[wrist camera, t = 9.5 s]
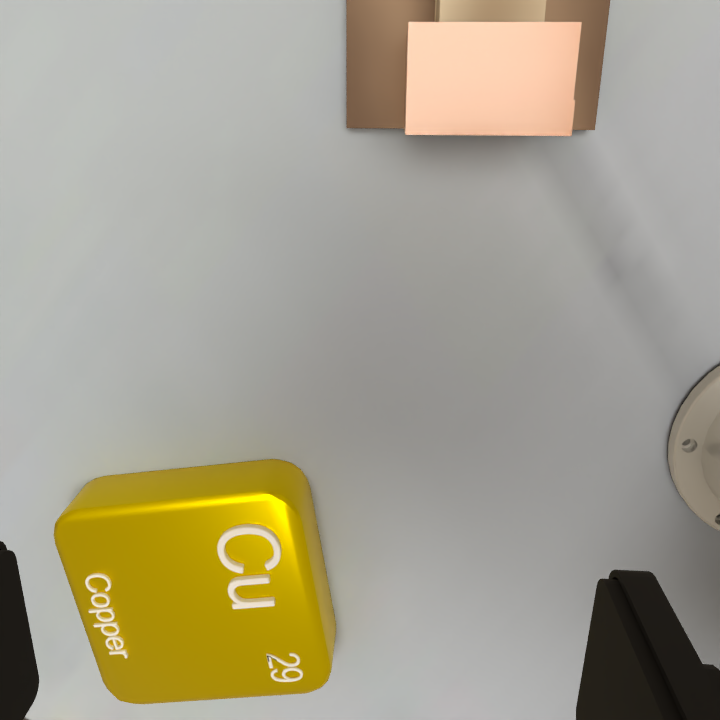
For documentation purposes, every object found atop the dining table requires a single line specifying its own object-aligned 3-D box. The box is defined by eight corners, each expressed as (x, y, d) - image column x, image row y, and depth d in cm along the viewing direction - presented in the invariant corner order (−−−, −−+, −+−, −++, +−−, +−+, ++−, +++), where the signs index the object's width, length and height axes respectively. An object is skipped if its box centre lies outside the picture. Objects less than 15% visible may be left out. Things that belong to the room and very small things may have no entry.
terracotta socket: (544, 38, 32) (583, 21, 25) (536, 129, 33) (571, 136, 26) (406, 38, 32) (408, 21, 25) (403, 128, 33) (405, 134, 27)
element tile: (74, 475, 44) (37, 518, 39) (305, 452, 42) (294, 493, 38) (133, 659, 49) (107, 715, 44) (341, 644, 47) (335, 700, 43)
